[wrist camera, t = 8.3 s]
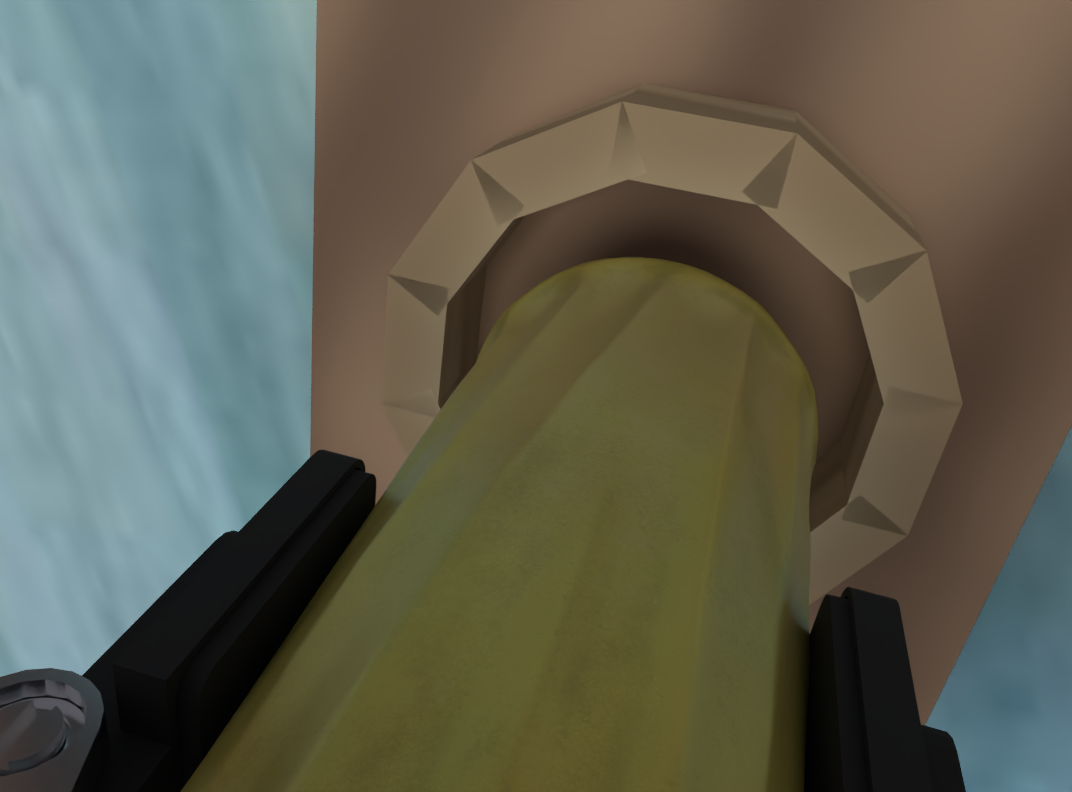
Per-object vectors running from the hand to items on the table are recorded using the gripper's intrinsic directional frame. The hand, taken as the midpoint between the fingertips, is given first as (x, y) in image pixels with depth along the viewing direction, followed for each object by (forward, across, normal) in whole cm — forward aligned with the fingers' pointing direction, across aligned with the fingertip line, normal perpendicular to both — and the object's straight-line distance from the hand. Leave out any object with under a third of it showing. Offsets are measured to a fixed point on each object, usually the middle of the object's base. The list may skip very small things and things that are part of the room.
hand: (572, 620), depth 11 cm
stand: (+10, 0, 0) cm, 10 cm away
